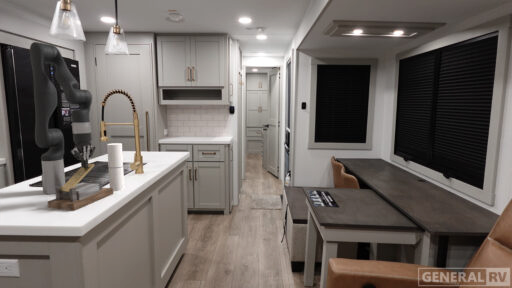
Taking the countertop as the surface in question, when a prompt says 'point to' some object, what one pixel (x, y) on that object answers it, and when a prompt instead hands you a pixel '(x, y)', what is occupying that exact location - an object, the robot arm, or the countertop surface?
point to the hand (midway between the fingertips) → (85, 167)
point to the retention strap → (76, 178)
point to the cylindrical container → (115, 166)
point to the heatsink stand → (79, 196)
